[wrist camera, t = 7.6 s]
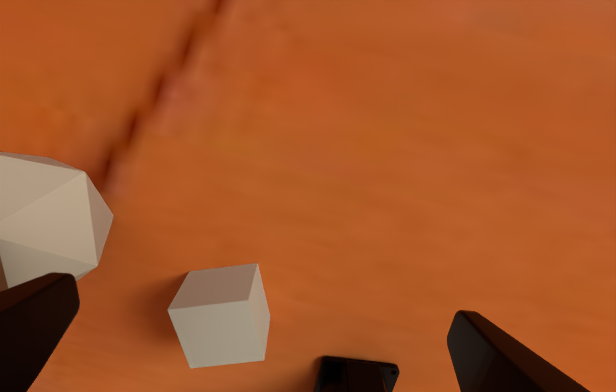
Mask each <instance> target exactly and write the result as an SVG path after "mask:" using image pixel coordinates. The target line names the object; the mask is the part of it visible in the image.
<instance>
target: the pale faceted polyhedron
mask: <svg viewBox="0 0 616 392" xmlns="http://www.w3.org/2000/svg"><path fill="white" fill-rule="evenodd" d="M113 217H114V215H113V214H112V212H111V211H110V209H109V208H108V206H107V205H106V203H105V202H104V200H103V199H102V197H101V195H100V194H99V192H98V191H97V189H96V188H95V186H94V185H93V183H92V182H91V180H90V179H89V177H88V176H87V174H86V173H85V172H84V171H81V170H79V169H77V168H74V167H72V166H69V165H67V164H64V163H62V162H59V161H57V160H54V159H52V158H49V157H41V156H33V155H25V154H16V153H8V152H0V257H1V261H2V265H3V269H4V273H5V277H6V281H7V285H8V288H11V287H13V286H16V285H19V284H21V283H24V282H27V281H29V280H32V279H35V278H37V277H40V276H43V275H45V274H48V273H51V272H61V273H70V274H72V275H73V276H74V277H75V279H76V281H77V280H79V279H80V278H82V277H83V276H84V275H86V274H87V273H89V272H90V271H91V270H93V269H94V268H96V267H97V266H98V264H99V260H100V257H101V254H102V251H103V248H104V245H105V242H106V239H107V236H108V233H109V230H110V227H111V224H112V221H113Z"/></svg>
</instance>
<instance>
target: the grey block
mask: <svg viewBox="0 0 616 392" xmlns="http://www.w3.org/2000/svg"><path fill="white" fill-rule="evenodd" d="M167 310H168V313H169V315H170V318H171V321H172V323H173V326H174V328H175V331H176V333H177V336H178V338H179V341H180V343H181V346H182V348H183V351H184V353H185V356H186V359H187V361H188V364H189V366H190V368H199V367H208V366H217V365H226V364H235V363H244V362H253V361H262V360H264V358H265V351H266V344H267V337H268V330H269V323H270V314H269V309H268V305H267V301H266V297H265V293H264V288H263V284H262V280H261V276H260V272H259V267H258V263H254V264H246V265H237V266H229V267H221V268H213V269H205V270H197V271H189V273H188V275H187V276H186V278H185V280H184V282H183V283H182V285H181V287H180V289H179V290H178V292H177V294H176V296H175V297H174V299H173V301H172V302H171V304H170V306H169V308H168V309H167Z"/></svg>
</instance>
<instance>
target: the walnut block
mask: <svg viewBox="0 0 616 392" xmlns="http://www.w3.org/2000/svg"><path fill="white" fill-rule="evenodd" d="M5 289H8V285H7V281H6V277H5V273H4V269H3V265H2V261H1V257H0V291H3V290H5Z"/></svg>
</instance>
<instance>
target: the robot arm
mask: <svg viewBox="0 0 616 392" xmlns="http://www.w3.org/2000/svg"><path fill="white" fill-rule="evenodd" d="M79 306H80V300H79V295H78V289H77V284H76V279H75V277H74V276H73V275H72V274H70V273H61V272H51V273H48V274H45V275H43V276H40V277H37V278H35V279H32V280H29V281H27V282H24V283H21V284H19V285H16V286H13V287H11V288H8V289H5V290H3V291H0V392H27V390H28V389H29V387H30V386H31V385H32V383H33V382H34V381H35V379H36V378H37V376H38V375H39V373H40V372H41V370H42V369H43V367H44V365H45V364H46V362H47V361H48V359H49V357H50V356H51V354H52V353H53V351H54V349H55V348H56V346H57V345H58V343H59V341H60V340H61V338H62V337H63V335H64V333H65V332H66V330H67V329H68V327H69V325H70V324H71V322H72V321H73V319H74V317H75V316H76V314H77V312H78V310H79ZM447 345H448V349H449V352H450V356H451V359H452V363H453V366H454V370H455V373H456V376H457V380H458V383H459V387H460V390H461V392H590V391H589V390H587V389H586V388H584V387H583V386H582V385H580V384H579V383H577V382H576V381H574V380H573V379H572V378H570V377H569V376H567V375H566V374H564V373H563V372H562V371H560V370H559V369H557V368H556V367H554V366H553V365H552V364H550V363H549V362H547V361H546V360H544V359H543V358H542V357H540V356H539V355H537V354H536V353H534V352H533V351H532V350H530V349H529V348H527V347H526V346H524V345H523V344H522V343H520V342H519V341H517V340H516V339H514V338H513V337H512V336H510V335H509V334H507V333H506V332H505V331H503V330H502V329H500V328H499V327H497V326H496V325H495V324H493V323H492V322H490V321H489V320H487V319H486V318H485V317H483V316H482V315H480V314H479V313H477V312H475V311H466V310H459V311H458V312H457V313H456V314H455V316H454V319H453V322H452V324H451V327H450V330H449V332H448V335H447ZM398 375H399V368H398V366H397V365H396V364H390V363H381V362H372V361H364V360H355V359H346V358H337V357H329V356H326V357H323V358H322V359H321V363H320V367H319V371H318V375H317V379H316V383H315V387H314V391H313V392H392V391H393V388H394V386H395V383H396V381H397V378H398Z"/></svg>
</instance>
